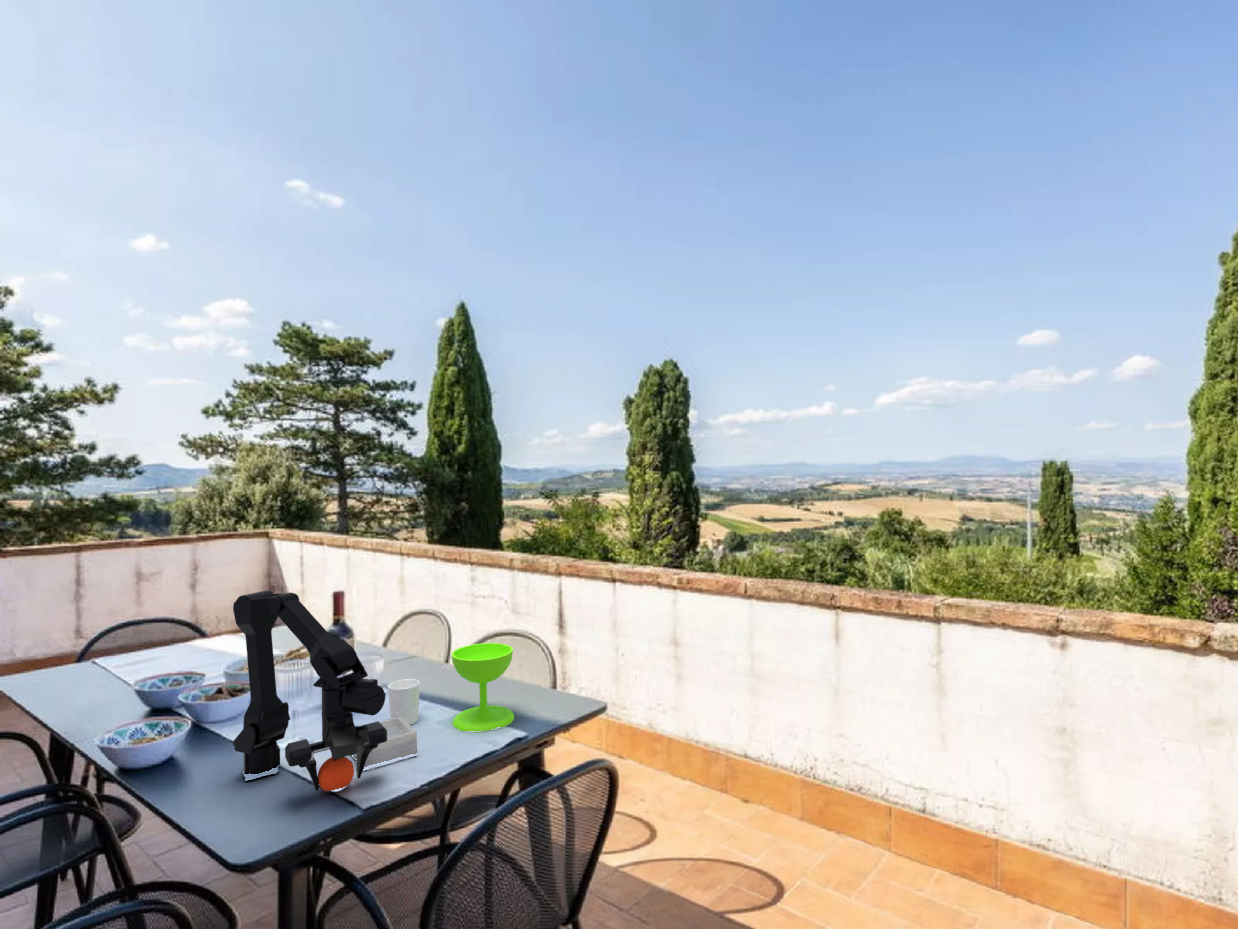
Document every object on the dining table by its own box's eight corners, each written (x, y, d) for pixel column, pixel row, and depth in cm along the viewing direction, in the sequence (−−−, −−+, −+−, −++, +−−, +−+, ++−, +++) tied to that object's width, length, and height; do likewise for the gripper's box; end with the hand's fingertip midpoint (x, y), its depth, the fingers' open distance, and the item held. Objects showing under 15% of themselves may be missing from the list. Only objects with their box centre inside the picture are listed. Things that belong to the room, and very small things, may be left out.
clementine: (349, 777, 134) (348, 744, 134) (365, 787, 130) (365, 753, 130) (311, 792, 128) (311, 757, 128) (327, 803, 124) (326, 767, 124)
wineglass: (439, 725, 161) (438, 656, 161) (480, 704, 175) (479, 640, 175) (487, 737, 153) (486, 663, 154) (526, 713, 167) (525, 647, 168)
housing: (362, 771, 136) (362, 746, 137) (349, 752, 146) (348, 729, 146) (417, 756, 144) (416, 732, 144) (400, 738, 153) (400, 716, 153)
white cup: (426, 717, 166) (425, 680, 167) (408, 729, 159) (408, 690, 159) (400, 715, 169) (400, 678, 169) (382, 726, 161) (381, 688, 161)
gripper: (293, 733, 117) (294, 816, 117) (394, 709, 128) (395, 785, 128) (284, 715, 126) (285, 792, 126) (379, 694, 137) (380, 765, 137)
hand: (338, 784), depth 129 cm, fingers closed on clementine, 8 cm apart
